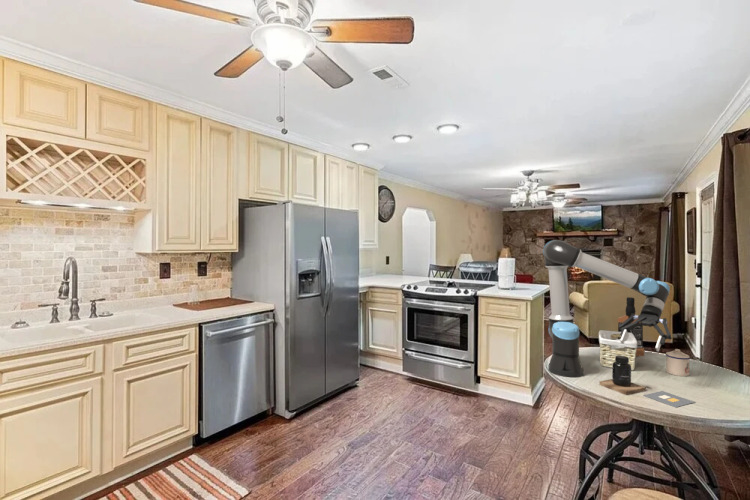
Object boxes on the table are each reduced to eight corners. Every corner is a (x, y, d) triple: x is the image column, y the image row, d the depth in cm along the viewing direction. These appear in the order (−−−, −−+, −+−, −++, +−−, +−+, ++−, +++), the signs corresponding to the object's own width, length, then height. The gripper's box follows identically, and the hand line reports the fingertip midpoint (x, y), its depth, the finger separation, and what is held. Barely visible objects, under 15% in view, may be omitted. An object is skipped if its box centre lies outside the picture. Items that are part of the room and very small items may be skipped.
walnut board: (599, 384, 165) (599, 381, 165) (618, 381, 169) (618, 377, 169) (626, 395, 154) (626, 391, 154) (645, 390, 158) (645, 387, 158)
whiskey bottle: (630, 350, 216) (630, 296, 215) (645, 355, 206) (646, 298, 205) (615, 351, 214) (615, 296, 213) (629, 357, 204) (629, 299, 204)
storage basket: (598, 355, 209) (598, 328, 208) (633, 359, 200) (633, 332, 200) (598, 367, 188) (599, 338, 188) (637, 372, 180) (638, 342, 180)
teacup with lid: (690, 378, 172) (690, 353, 172) (665, 374, 178) (666, 350, 177) (688, 370, 182) (688, 347, 182) (664, 367, 187) (665, 344, 187)
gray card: (643, 395, 153) (643, 395, 153) (662, 391, 157) (662, 390, 157) (675, 407, 142) (675, 407, 142) (695, 402, 146) (695, 402, 146)
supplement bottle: (624, 388, 157) (624, 360, 157) (608, 382, 163) (608, 355, 163) (634, 385, 160) (634, 357, 160) (618, 380, 166) (619, 353, 166)
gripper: (687, 319, 167) (674, 358, 158) (624, 310, 187) (610, 344, 179) (684, 308, 164) (671, 347, 155) (620, 300, 184) (606, 334, 175)
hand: (638, 345), depth 167 cm, fingers open, 13 cm apart
